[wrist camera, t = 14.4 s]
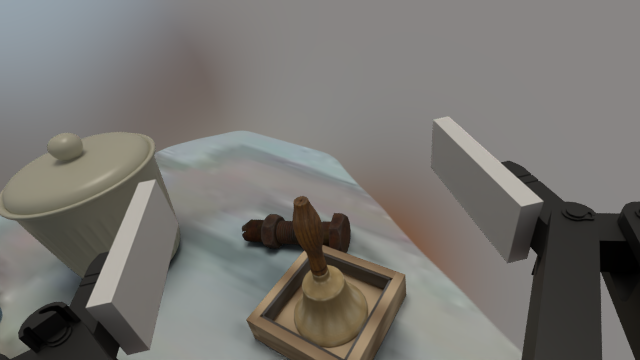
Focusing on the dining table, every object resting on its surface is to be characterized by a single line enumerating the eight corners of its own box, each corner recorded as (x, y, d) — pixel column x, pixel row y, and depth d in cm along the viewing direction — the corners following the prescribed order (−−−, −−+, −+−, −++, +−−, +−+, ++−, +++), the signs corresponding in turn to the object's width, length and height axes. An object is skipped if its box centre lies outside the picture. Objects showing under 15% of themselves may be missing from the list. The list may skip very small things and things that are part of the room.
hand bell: (302, 359, 36) (262, 247, 27) (288, 294, 42) (251, 187, 33) (380, 332, 37) (366, 215, 28) (353, 272, 43) (336, 163, 34)
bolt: (256, 244, 55) (351, 251, 50) (238, 254, 50) (341, 262, 45) (253, 207, 54) (350, 209, 49) (235, 214, 49) (339, 217, 44)
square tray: (353, 397, 33) (349, 378, 31) (255, 338, 40) (246, 319, 38) (406, 294, 41) (405, 274, 39) (316, 259, 47) (312, 241, 45)
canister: (46, 317, 47) (-82, 191, 35) (114, 224, 62) (41, 113, 50) (174, 307, 45) (84, 169, 33) (214, 213, 60) (161, 94, 48)
